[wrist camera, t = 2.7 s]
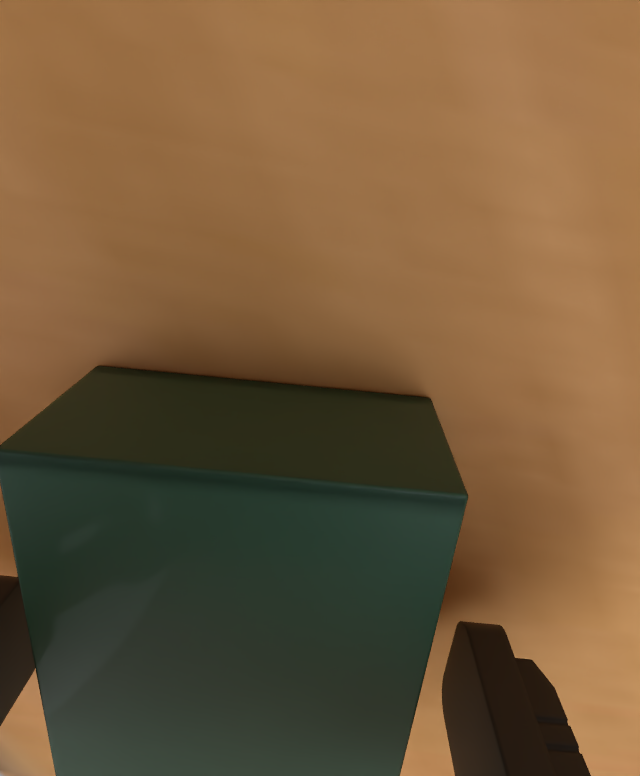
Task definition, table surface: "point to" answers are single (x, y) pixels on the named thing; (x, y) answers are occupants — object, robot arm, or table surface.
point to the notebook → (230, 572)
